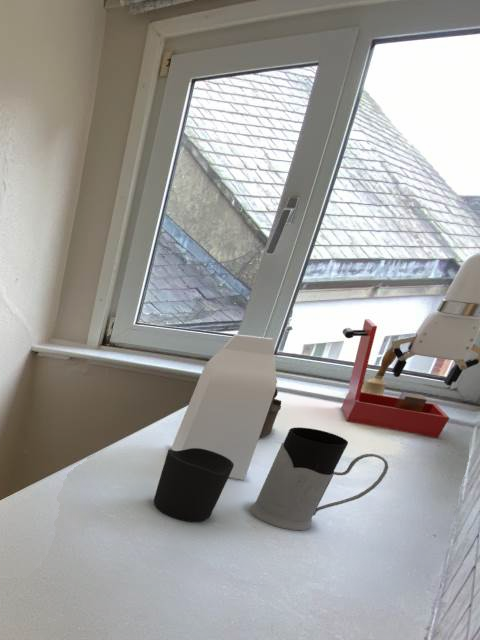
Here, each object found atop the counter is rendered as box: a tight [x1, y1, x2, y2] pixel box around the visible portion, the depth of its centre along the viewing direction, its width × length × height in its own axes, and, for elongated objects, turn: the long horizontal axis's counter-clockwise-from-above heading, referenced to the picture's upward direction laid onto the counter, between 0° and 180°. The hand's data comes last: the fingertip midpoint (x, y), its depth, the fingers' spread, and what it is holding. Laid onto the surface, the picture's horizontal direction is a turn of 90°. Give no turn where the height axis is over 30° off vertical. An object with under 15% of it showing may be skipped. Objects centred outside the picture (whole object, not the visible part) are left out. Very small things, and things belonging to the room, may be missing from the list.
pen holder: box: [153, 448, 234, 523], centre depth 92 cm, size 9×9×10 cm
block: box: [394, 391, 428, 412], centre depth 140 cm, size 4×5×7 cm
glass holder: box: [249, 427, 389, 531], centre depth 89 cm, size 9×14×15 cm, turn 60°
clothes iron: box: [259, 387, 282, 439], centre depth 129 cm, size 8×16×13 cm, turn 140°
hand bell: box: [361, 346, 397, 396], centre depth 159 cm, size 8×8×16 cm
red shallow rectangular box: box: [340, 389, 450, 439], centre depth 142 cm, size 18×14×5 cm
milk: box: [171, 333, 278, 481], centre depth 108 cm, size 12×12×26 cm
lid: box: [342, 318, 378, 400], centre depth 143 cm, size 18×14×5 cm
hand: (420, 379), depth 137 cm, fingers open, 9 cm apart
